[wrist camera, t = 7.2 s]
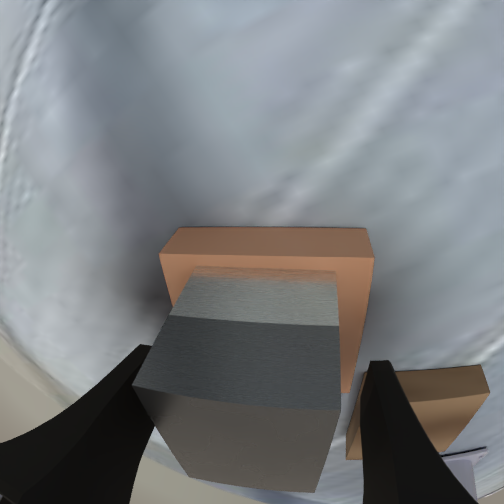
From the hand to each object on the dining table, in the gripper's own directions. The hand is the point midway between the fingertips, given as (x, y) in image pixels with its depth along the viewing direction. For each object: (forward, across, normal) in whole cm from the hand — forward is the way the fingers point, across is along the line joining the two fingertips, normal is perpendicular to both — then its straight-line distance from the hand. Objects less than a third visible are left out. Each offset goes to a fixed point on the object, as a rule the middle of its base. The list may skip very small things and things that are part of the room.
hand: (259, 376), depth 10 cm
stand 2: (+4, -8, +8) cm, 12 cm away
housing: (+2, 0, 0) cm, 2 cm away
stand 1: (+4, 0, 0) cm, 4 cm away
